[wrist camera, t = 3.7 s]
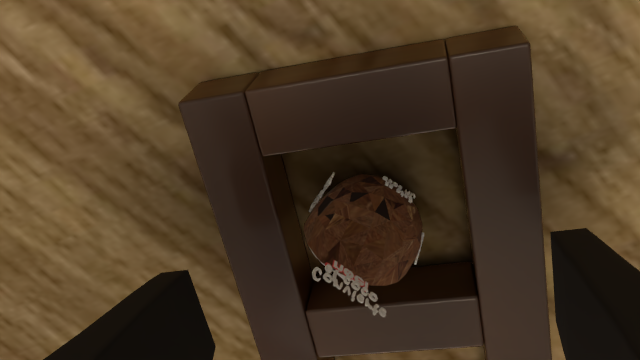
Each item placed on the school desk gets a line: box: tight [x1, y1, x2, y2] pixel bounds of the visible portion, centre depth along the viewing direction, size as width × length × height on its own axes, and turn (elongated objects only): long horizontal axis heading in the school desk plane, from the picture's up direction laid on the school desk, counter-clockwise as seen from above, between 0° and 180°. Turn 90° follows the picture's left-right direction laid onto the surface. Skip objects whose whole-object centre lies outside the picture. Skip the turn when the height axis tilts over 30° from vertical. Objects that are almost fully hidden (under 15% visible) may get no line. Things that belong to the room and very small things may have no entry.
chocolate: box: [304, 172, 424, 317], centre depth 14 cm, size 3×2×4 cm
